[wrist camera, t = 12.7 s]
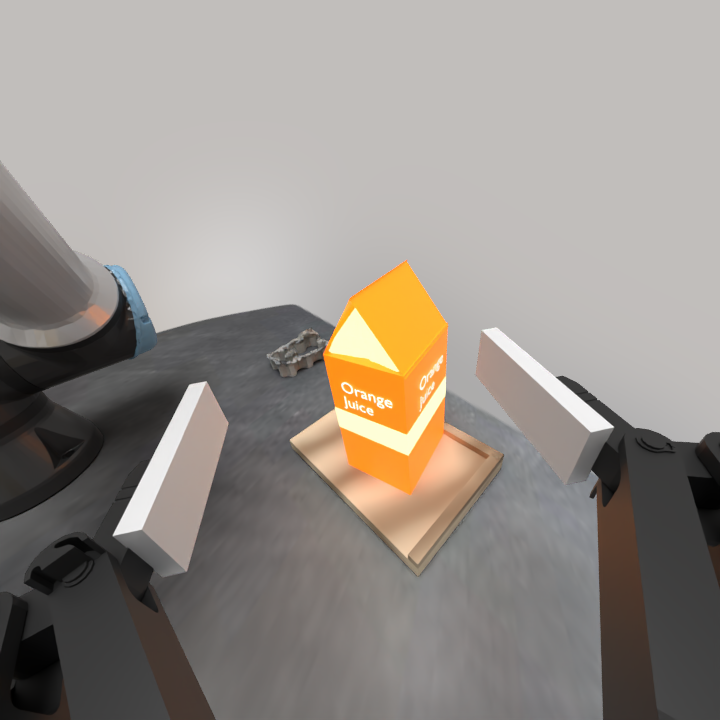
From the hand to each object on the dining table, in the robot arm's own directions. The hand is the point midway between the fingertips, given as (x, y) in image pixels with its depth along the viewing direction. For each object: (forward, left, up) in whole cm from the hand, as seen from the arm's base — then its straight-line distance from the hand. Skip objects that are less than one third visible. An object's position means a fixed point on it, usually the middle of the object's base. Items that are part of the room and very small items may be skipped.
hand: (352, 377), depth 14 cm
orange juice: (-7, +9, -19) cm, 22 cm away
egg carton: (-34, +14, -21) cm, 42 cm away
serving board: (-7, +8, -20) cm, 23 cm away
